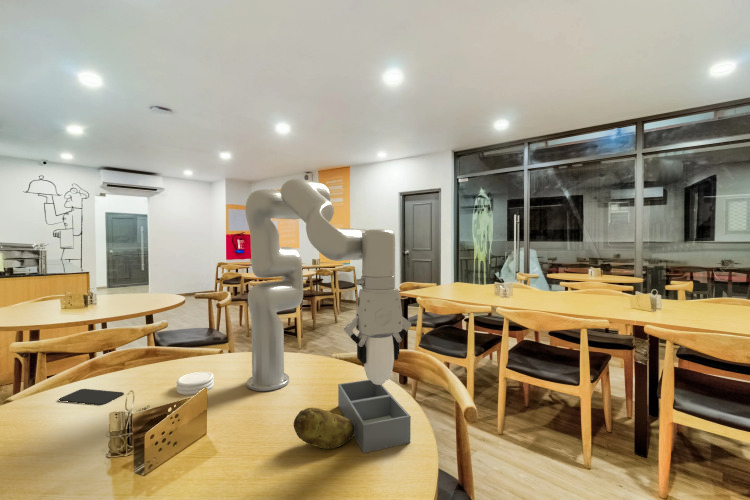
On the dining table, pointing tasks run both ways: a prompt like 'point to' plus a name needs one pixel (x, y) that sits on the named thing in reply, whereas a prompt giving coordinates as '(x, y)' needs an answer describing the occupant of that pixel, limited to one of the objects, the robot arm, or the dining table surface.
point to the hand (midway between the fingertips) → (378, 359)
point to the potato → (323, 428)
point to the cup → (379, 358)
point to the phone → (92, 396)
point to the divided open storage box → (374, 415)
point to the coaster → (194, 382)
